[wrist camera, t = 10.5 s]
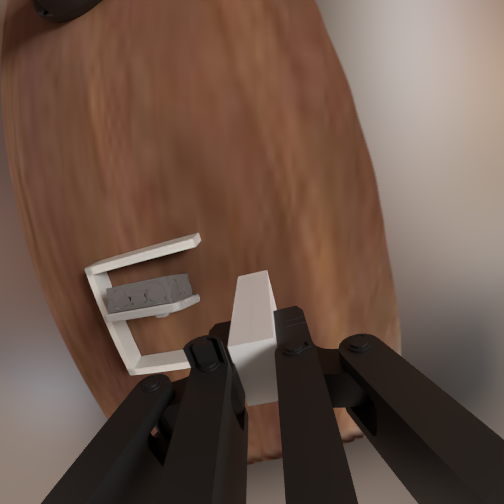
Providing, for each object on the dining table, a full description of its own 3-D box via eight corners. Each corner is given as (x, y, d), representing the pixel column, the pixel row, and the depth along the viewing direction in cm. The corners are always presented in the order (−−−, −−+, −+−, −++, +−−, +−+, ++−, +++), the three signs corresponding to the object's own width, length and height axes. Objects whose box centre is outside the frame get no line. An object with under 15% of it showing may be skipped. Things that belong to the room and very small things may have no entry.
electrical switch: (138, 311, 40) (108, 337, 31) (127, 274, 40) (93, 293, 30) (202, 299, 40) (185, 326, 30) (192, 260, 39) (170, 277, 30)
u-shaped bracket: (96, 261, 39) (84, 269, 35) (198, 232, 37) (192, 238, 34) (138, 362, 42) (130, 375, 39) (234, 346, 41) (232, 360, 38)
